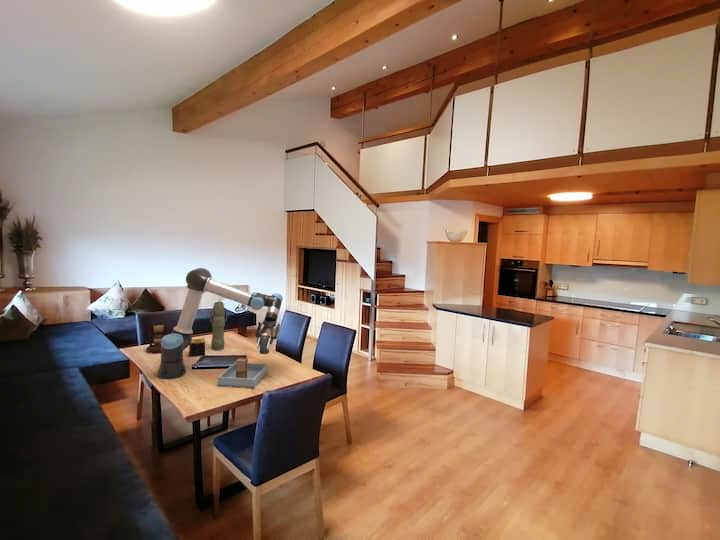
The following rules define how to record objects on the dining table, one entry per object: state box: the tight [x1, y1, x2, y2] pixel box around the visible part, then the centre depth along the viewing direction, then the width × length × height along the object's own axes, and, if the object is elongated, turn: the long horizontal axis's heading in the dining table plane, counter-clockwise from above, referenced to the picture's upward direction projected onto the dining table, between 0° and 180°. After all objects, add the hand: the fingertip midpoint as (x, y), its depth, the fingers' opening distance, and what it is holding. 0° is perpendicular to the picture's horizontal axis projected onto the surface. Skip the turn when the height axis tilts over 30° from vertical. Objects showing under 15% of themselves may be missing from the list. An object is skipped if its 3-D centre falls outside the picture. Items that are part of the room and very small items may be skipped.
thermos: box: [209, 301, 228, 351], centre depth 272 cm, size 9×12×35 cm
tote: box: [216, 361, 269, 389], centre depth 219 cm, size 26×21×5 cm
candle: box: [188, 338, 206, 358], centre depth 258 cm, size 10×10×10 cm
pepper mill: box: [259, 331, 271, 355], centre depth 221 cm, size 6×6×12 cm
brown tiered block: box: [145, 322, 169, 354], centre depth 261 cm, size 15×15×20 cm
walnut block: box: [235, 357, 249, 379], centre depth 215 cm, size 5×5×12 cm
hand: (262, 348), depth 218 cm, fingers closed on pepper mill, 6 cm apart
